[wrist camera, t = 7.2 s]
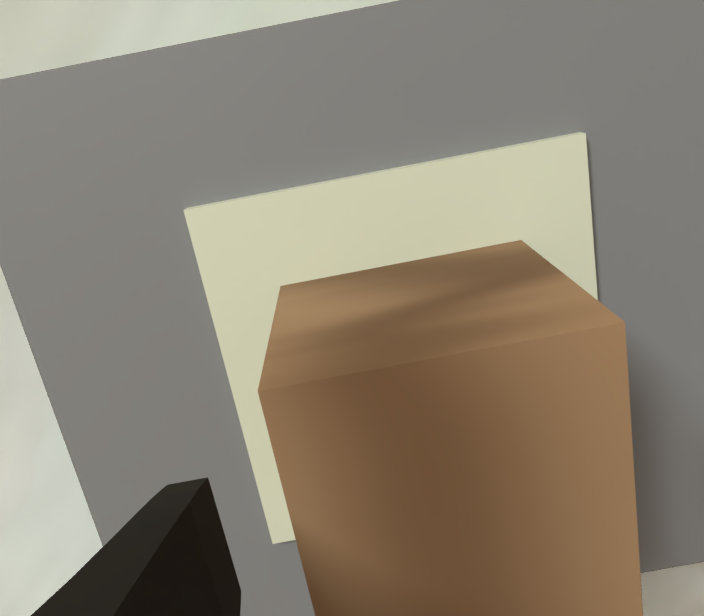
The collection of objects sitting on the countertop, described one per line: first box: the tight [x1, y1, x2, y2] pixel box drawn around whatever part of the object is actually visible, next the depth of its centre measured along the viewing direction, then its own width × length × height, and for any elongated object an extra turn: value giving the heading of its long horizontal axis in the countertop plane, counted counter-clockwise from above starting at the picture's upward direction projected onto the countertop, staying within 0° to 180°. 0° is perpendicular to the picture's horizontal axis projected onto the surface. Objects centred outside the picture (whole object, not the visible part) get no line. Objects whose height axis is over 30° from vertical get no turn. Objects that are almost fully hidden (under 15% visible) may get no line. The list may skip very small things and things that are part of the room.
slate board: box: [0, 0, 704, 616], centre depth 16 cm, size 16×14×3 cm
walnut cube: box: [258, 240, 643, 616], centre depth 12 cm, size 5×5×5 cm
